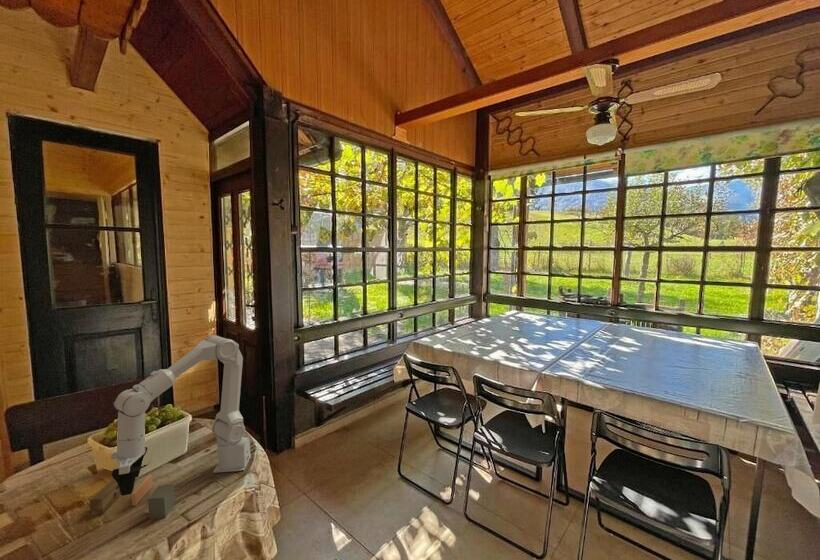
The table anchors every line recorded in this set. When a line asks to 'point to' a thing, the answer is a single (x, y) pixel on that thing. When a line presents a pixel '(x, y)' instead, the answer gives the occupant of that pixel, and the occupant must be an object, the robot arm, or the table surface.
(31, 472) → the table surface
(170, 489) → the plug
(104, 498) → the socket housing
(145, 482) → the orange flat block
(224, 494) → the table surface
